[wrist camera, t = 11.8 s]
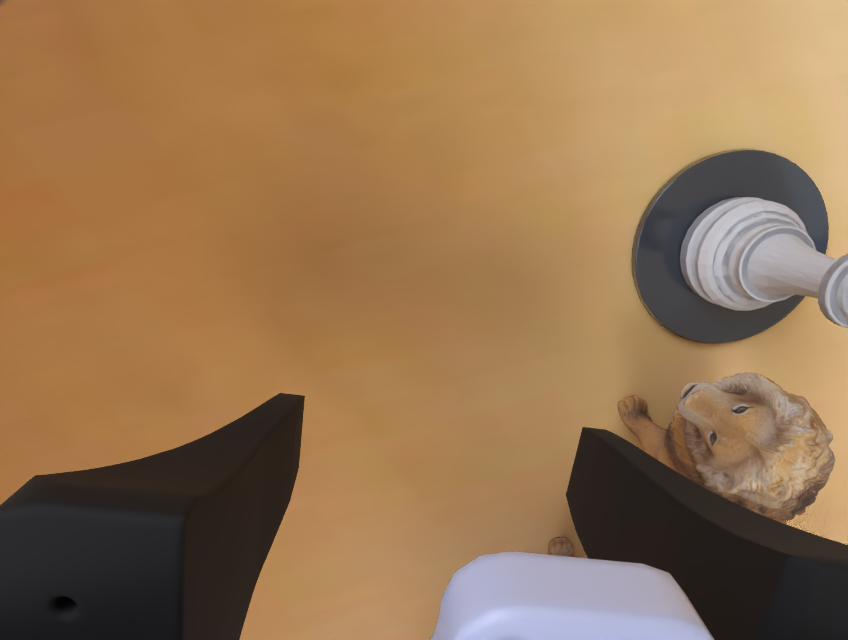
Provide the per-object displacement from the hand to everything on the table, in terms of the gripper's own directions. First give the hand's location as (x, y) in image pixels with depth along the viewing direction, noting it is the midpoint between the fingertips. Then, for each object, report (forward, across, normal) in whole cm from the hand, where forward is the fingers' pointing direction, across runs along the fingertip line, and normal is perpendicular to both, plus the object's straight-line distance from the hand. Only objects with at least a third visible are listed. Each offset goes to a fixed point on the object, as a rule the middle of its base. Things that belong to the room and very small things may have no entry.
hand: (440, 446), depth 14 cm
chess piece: (+10, -12, -5) cm, 16 cm away
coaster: (+10, -12, -5) cm, 16 cm away
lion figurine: (+10, -10, +5) cm, 15 cm away
